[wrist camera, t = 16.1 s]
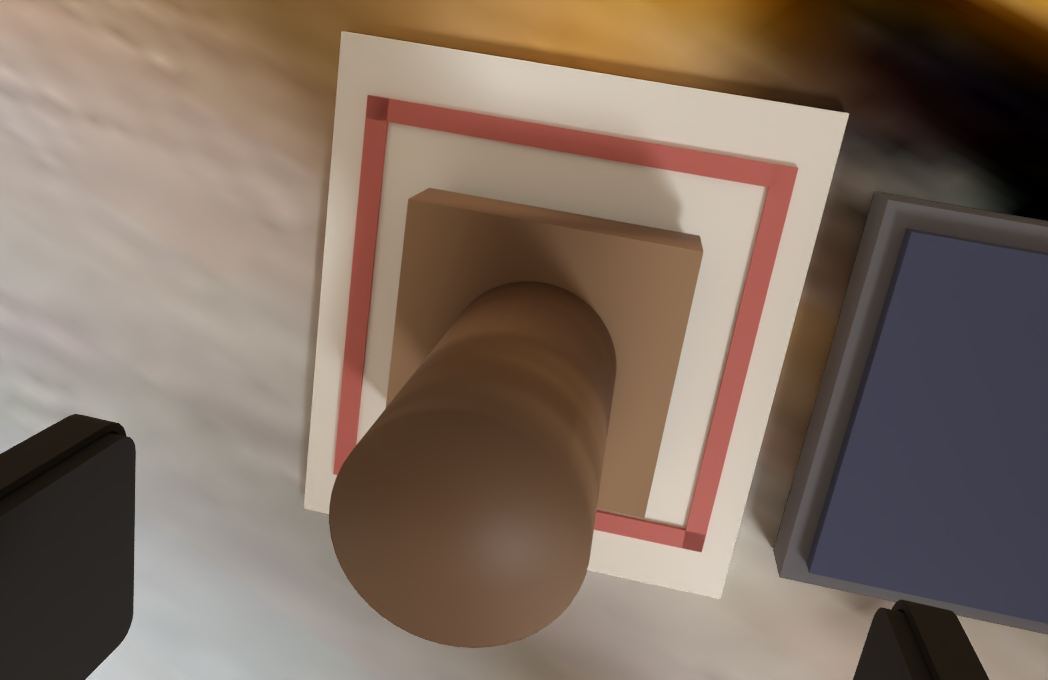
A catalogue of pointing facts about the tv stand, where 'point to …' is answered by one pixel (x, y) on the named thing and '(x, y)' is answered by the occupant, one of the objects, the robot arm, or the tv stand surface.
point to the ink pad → (932, 420)
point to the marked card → (593, 190)
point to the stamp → (510, 412)
